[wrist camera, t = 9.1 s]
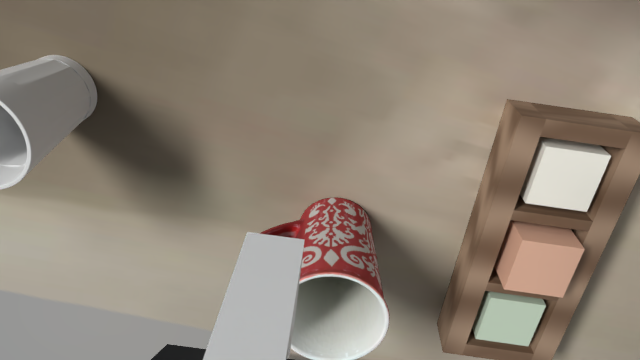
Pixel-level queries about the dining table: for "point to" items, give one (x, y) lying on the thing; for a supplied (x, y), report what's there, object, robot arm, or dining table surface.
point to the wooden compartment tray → (507, 204)
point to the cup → (40, 111)
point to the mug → (336, 283)
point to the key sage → (507, 318)
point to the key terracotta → (538, 258)
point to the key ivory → (564, 174)
